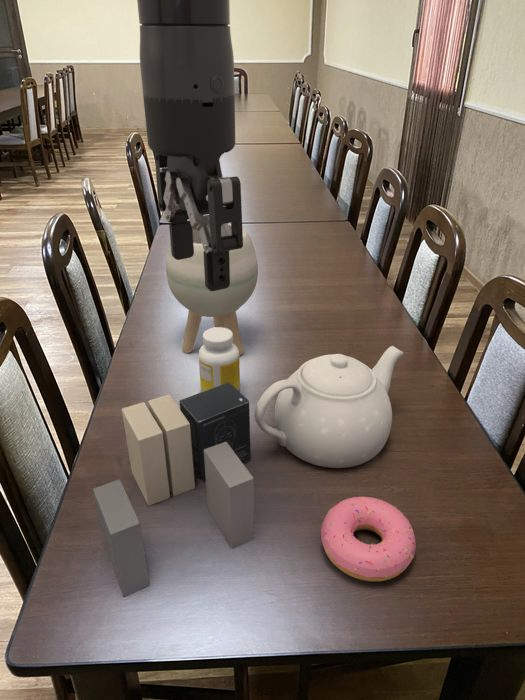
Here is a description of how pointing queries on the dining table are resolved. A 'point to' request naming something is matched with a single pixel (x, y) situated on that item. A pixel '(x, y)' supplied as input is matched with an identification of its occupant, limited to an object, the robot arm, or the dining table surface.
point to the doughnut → (362, 557)
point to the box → (217, 423)
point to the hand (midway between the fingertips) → (199, 272)
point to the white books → (159, 448)
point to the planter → (219, 304)
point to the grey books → (222, 500)
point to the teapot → (333, 409)
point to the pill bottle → (218, 359)
